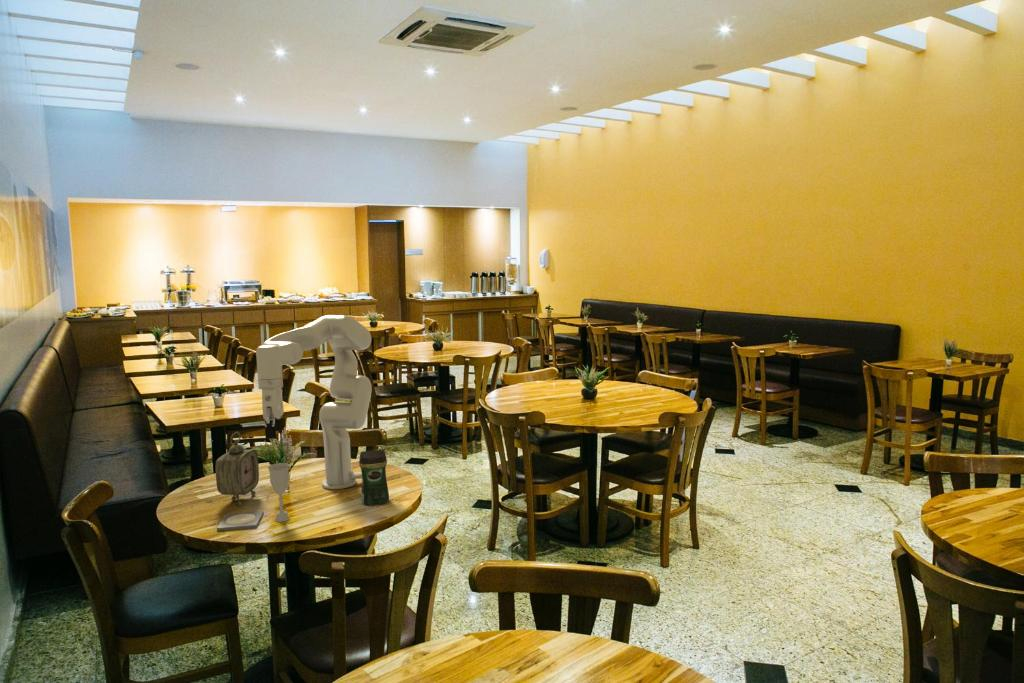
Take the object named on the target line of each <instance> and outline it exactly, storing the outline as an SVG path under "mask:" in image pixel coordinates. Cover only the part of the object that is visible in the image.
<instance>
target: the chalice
mask: <svg viewBox="0 0 1024 683" xmlns="http://www.w3.org/2000/svg"><path fill="white" fill-rule="evenodd" d="M289 467H290V464H289V463H287V462H277V463H274V464H271V465H269V466H267V469H268V470H269V482H270V485H271V487H272V489H273V491H274V492H275V493H276V494H277V495H278V502H279V503H278V507H279V510H278V512H276V514H275V517H274V518H273V520H275V521H274V522H278V523H282V522H287V521H289V520H290V519H291V517H290V514H289V513H288V511H287V510H284V505H285V503H283V500H284V498H283V494H285V492H286V489H288V488H287V487H288V484H289V480H290V476H289Z"/></svg>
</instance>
